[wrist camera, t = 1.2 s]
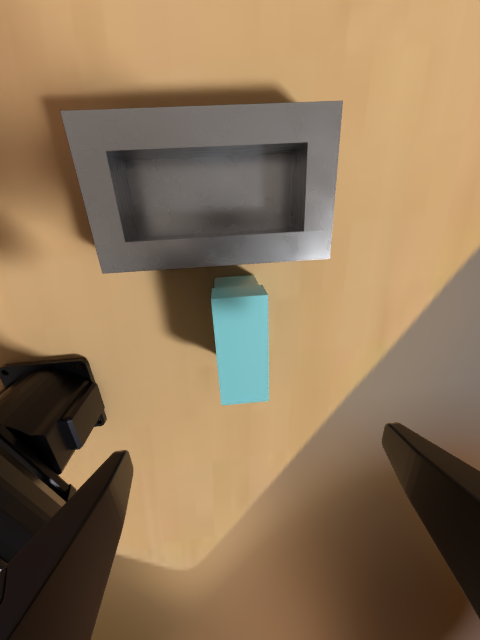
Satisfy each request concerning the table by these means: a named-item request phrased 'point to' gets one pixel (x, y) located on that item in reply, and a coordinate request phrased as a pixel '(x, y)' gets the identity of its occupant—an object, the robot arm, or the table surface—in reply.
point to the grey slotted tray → (207, 183)
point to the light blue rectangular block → (241, 339)
